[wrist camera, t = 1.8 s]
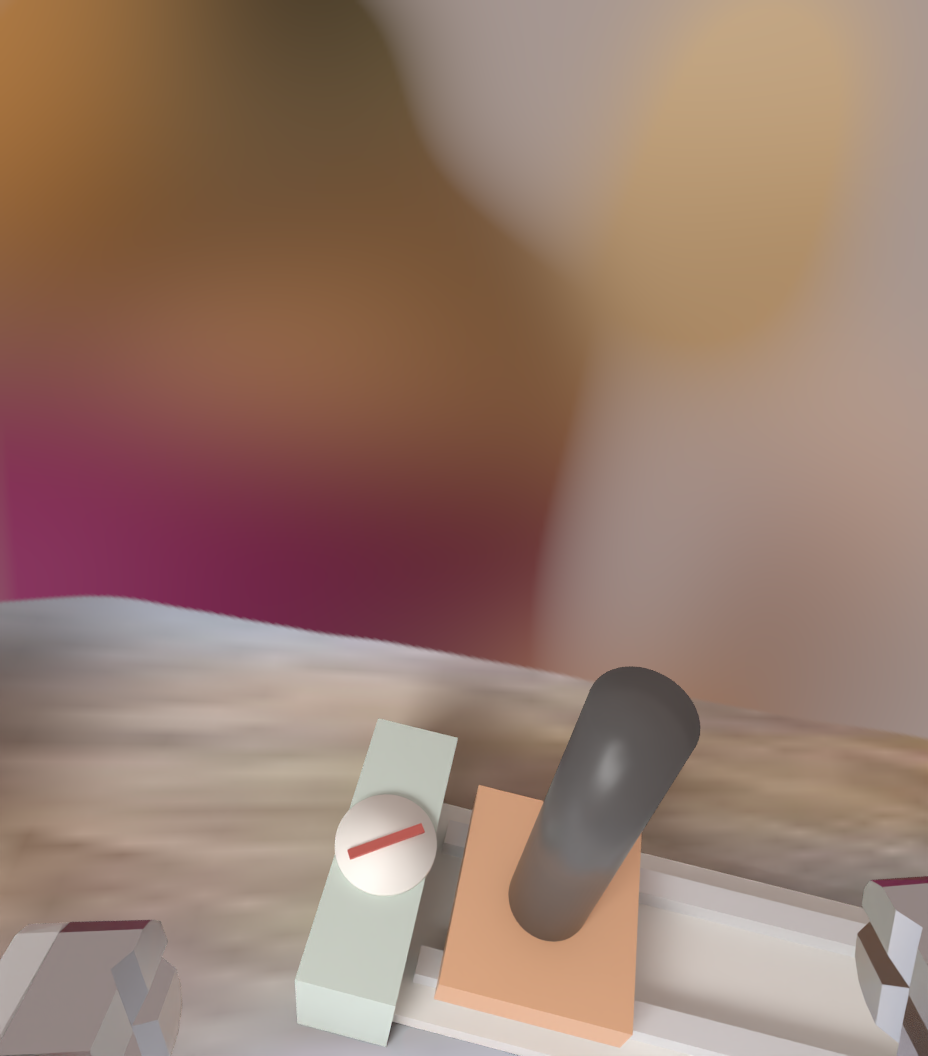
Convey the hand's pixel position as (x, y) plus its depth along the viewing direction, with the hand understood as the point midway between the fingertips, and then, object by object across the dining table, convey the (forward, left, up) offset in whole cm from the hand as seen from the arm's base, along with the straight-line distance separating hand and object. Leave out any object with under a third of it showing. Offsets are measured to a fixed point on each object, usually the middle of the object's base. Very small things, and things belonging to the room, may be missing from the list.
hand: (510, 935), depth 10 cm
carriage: (-2, +12, -29) cm, 31 cm away
